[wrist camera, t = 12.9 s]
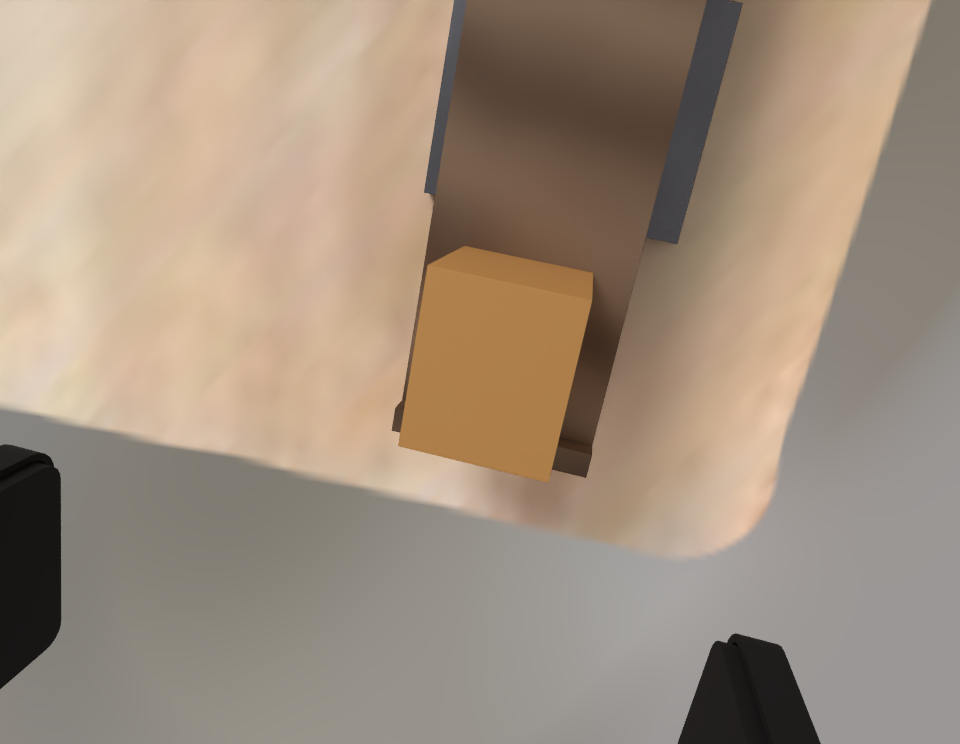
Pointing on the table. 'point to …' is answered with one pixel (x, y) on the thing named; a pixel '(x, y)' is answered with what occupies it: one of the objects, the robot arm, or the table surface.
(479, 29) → the beam
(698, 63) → the stand
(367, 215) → the table surface
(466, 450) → the block
